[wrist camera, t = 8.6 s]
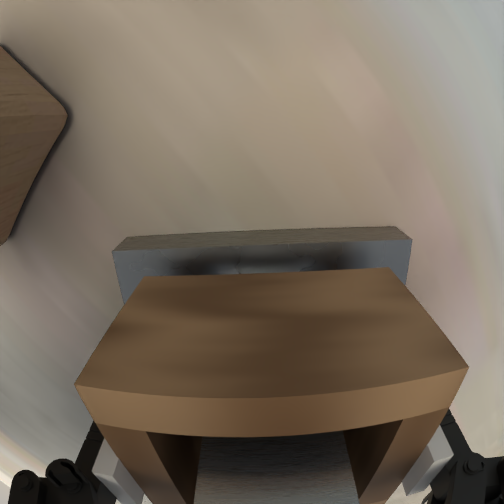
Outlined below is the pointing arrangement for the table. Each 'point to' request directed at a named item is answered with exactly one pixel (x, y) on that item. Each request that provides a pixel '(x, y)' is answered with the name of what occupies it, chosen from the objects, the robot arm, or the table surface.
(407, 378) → the wooden cube shelf
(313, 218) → the table surface
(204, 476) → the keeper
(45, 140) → the block
